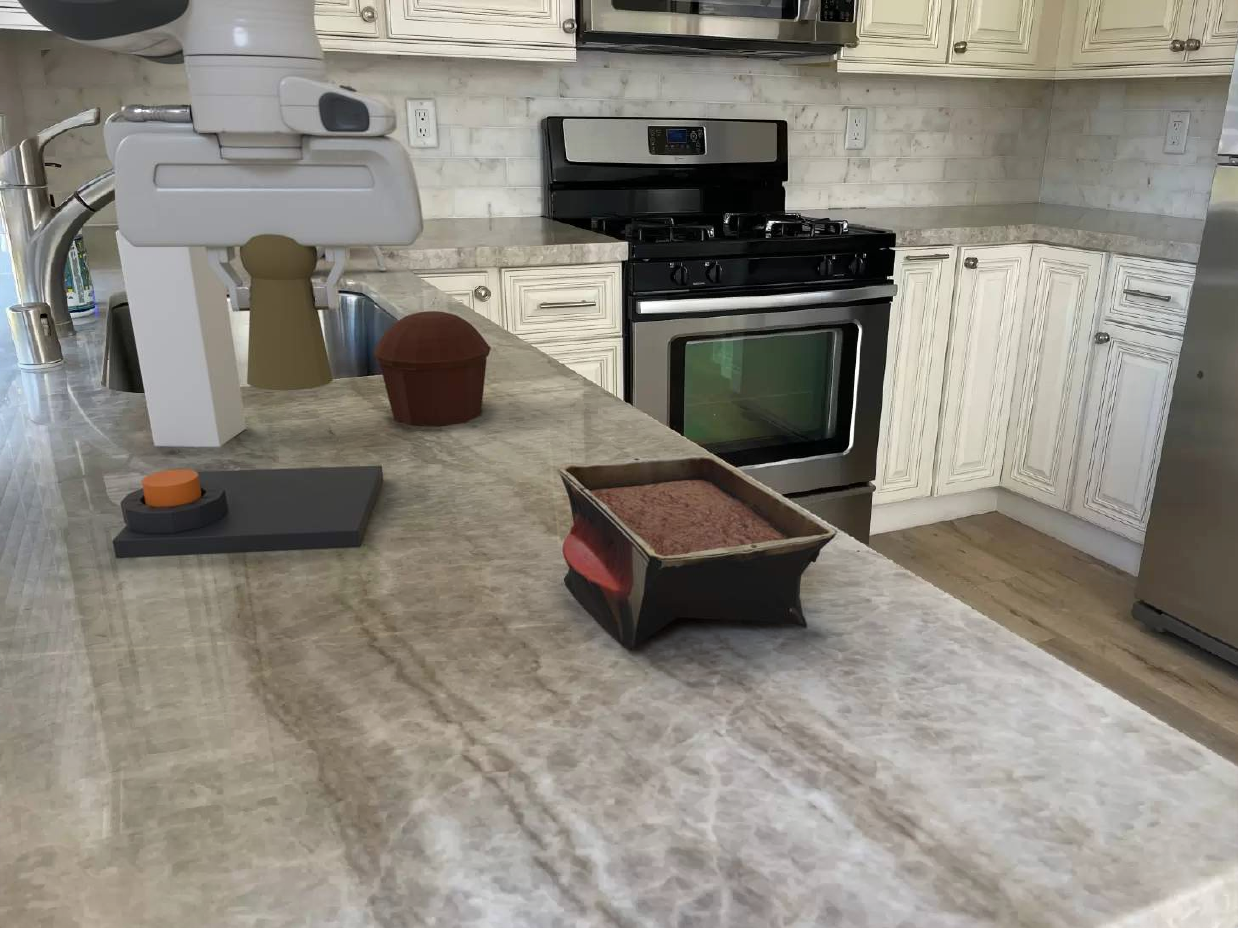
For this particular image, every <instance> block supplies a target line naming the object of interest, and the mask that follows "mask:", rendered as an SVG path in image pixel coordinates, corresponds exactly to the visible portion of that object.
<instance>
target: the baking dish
mask: <svg viewBox="0 0 1238 928" xmlns="http://www.w3.org/2000/svg"><path fill="white" fill-rule="evenodd" d="M557 473H558V474H559V476H560V478H561V480H562V481H561V482H562V483H563V485H564V488H565V491H566V493H567V496H568V500H569V503H570V510H571V518H572V523H573V525H572V527H571V528H570V532H569V533H568V535H567V536H566V538H565V539H564V542H563V546H562V554H563V558H564V560H565V562H566V564H567V566H568V572H567V574H566V575H565V577H564V578H563V580H564V585H565V586H566V588H567V589H568V591H569V592H570V594H572V596H573V597H574V598H575V600H576V601H577V603H579V605H581V606H582V607H583V608H584V610H585V611H587V613H588V614H589V615H590V616H591V617H592V618H593V619H594V620H595V621H596V622H597V623H598V624H599V625H600V626H601V628H603V630H604V631H606V632H607V633H608V634H609V635H610V636H611V637H612V638H613V639H614V640H615V641H616V642H617V643H619V644H620V645H621V646H622V647H623V648H624V649H626V650H628V651H631V650H632V649H633V648H634V647H636V646H638V645H639V644H640V643H642V642H644V641H645V640H646V639H648V638H649V637H651V636H652V635H654V634H655V633H657V632H658V631H660V630H661V629H663V628H664V627H665V626H667V625H669V624H670V623H672V622H673V621H675V620H676V619H677V618H684V619H685V618H687V619H711V620H732V621H733V620H735V621H757V622H758V621H759V622H776V623H782V624H787V625H792V626H793V625H794V626H799V627H804V628H808V624H807V620H806V617H805V616H804V613H803V608H802V601H801V584H802V583H801V582H802V576H803V574H804V572H805V571H807V568H808V567H809V566H810V565H811V563H816V562H817V559H818V558H819V556H820V553H821V550H822V549H823V548H824V547H825V546H827V545H828V544H829V543H830V542H831V541H832V540H833V539H834V538H835V537H836V535H837V534H838V530H837V529H835V528H834V527H831V526H829V525H827V523H824V522H823V521H822V520H820V519H818V518H816V517H815V516H813V515H811V514H810V513H808V512H807V511H805V510H803V509H801V508H800V507H797V506H796V505H794V504H793V503H791V502H789V501H788V500H785V499H784V498H783V497H782V496H779V495H777V494H776V493H774V492H772V491H771V490H770V489H768V488H766V487H764V486H763V484H760V483H758V482H757V481H755V480H753V479H752V478H749V477H748V476H746V475H745V474H743V472H741V471H739V470H738V469H736V468H733V467H732V466H730V465H729V464H727V463H726V462H724V461H722V460H721V459H719V458H715V457H713V456H707V455H702V454H700V455H696V454H692V455H667V456H666V455H665V456H664V455H663V456H649V457H638V458H617V459H608V460H597V461H586V462H579V463H578V462H576V463H570V464H566V465H563V466H560V467H559V468H557Z"/></svg>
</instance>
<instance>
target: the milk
mask: <svg viewBox="0 0 1238 928" xmlns="http://www.w3.org/2000/svg"><path fill="white" fill-rule="evenodd" d="M115 237H116V243H117V249H118V254H119V259H120V264H121V271H122V275H123V280H124V286H125V293H126V298H127V303H128V308H129V314H130V320H131V324H132V330H133V335H134V341H135V347H136V351H137V352H136V353H137V357H138V364H139V369H140V374H141V378H142V384H143V390H144V395H145V396H144V397H145V403H146V407H147V413H148V418H149V423H150V428H151V434H152V441H153V444H154V447H188V448H189V447H191V448H192V447H194V448H221V447H222V446H223V445H225V444H226V443H228V442H229V441H230V440H232V439H233V438H235V437H236V436H238V435H239V434H241V433H242V432H243V431H245V430H246V429H247V426H246V419H245V411H244V404H243V397H242V390H241V384H240V378H239V371H238V364H237V358H236V351H235V344H234V338H233V330H232V323H231V315H230V310H229V303H228V296H227V289H226V288H227V287H226V286H225V285H224V283H223V282H222V281H221V279H220V278H219V277H218V276H217V274H216V273H215V272H214V271H213V269H212V268H211V267H210V265H209V264H208V261H207V254H206V248H205V247H134V246H133V245H131V244H130V243H129V242H128V241H127V240H126V239H125V238H124V237H123V236H122V235H121V233H120V231H119V229H117V230H116V231H115Z"/></svg>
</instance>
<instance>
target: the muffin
mask: <svg viewBox="0 0 1238 928" xmlns="http://www.w3.org/2000/svg"><path fill="white" fill-rule="evenodd" d="M491 350H492V347H491V346H490V345H489V344H488V342H487V341H486V340H485V338H484V337H483V335H481V334H480V332H479V331H478V330H477V328H476V327H475V326H473V325H472V324H471V323H470V322H468V321H467V320H466V319H464V318H462V317H461V316H459V315H457V314H454V313H450V312H445V311H439V310H438V311H437V310H435V311H434V310H433V311H432V310H429V311H427V310H426V311H419V312H414V313H411V314H407V315H405V316H404V317H402V318H401V319H399V320H398V321H396V322H395V323H394V324H392V325H391V326H390V327H388V329H386V331H385V332H384V333H383V335H382V336H381V338H380V339H379V341H378V342H377V344H376V346H375V348H374V349H373V350H372V352H373V355H374V357H375V359H376V360H377V362H378V363H379V366H380V370H381V371H380V372H381V374H382V377H383V383H384V385H385V391H386V393H387V397H388V402H389V405H390V406H389V407H390V409H391V414H392V417H393V420H394V421H396V422H401V423H404V424H407V425H410V426H428V427H429V426H431V427H442V426H449V425H454V424H462V423H467V422H469V421H471V420H472V419H475V418H477V417H479V416H482V407H483V399H484V391H485V390H484V389H485V380H486V370H487V369H486V368H487V359H488V358H487V357H489V356H490V353H491Z"/></svg>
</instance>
